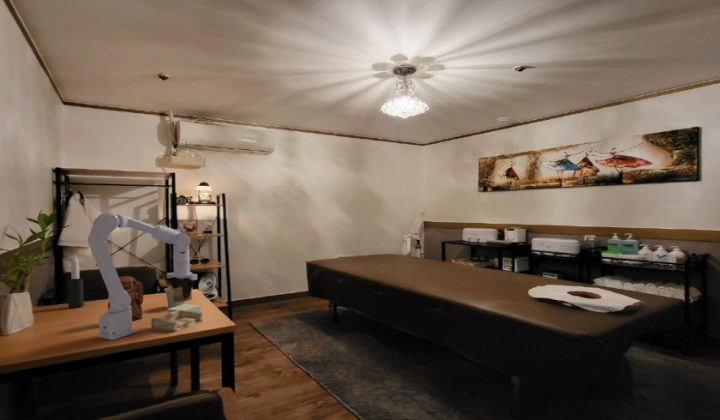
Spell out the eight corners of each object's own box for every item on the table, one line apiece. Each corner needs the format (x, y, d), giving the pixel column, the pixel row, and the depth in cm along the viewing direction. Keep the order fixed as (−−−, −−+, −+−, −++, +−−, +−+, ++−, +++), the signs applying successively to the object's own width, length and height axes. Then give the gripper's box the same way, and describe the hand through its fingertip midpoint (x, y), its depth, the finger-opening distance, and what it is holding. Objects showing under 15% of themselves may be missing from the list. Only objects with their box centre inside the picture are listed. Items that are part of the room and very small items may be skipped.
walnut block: (181, 302, 143) (180, 289, 143) (173, 301, 144) (173, 288, 144) (191, 299, 147) (191, 286, 147) (184, 298, 149) (184, 286, 149)
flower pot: (191, 304, 173) (191, 286, 173) (180, 309, 164) (179, 290, 164) (172, 304, 174) (172, 285, 174) (160, 309, 165) (159, 290, 165)
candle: (71, 306, 174) (69, 253, 173) (84, 305, 176) (82, 252, 176) (67, 309, 169) (66, 254, 169) (81, 307, 171) (80, 254, 171)
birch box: (174, 331, 134) (174, 322, 134) (151, 328, 139) (151, 319, 139) (202, 321, 146) (202, 312, 146) (180, 318, 151) (180, 309, 151)
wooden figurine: (112, 325, 143) (111, 279, 143) (107, 322, 147) (106, 277, 147) (145, 318, 152) (144, 274, 152) (139, 315, 156) (138, 273, 156)
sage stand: (183, 318, 151) (183, 310, 151) (167, 316, 155) (167, 309, 154) (200, 312, 159) (200, 305, 159) (185, 310, 163) (185, 303, 163)
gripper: (203, 262, 146) (204, 296, 147) (177, 260, 152) (178, 293, 152) (188, 264, 140) (189, 300, 140) (161, 263, 146) (162, 297, 146)
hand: (182, 297), depth 146 cm, fingers closed on walnut block, 4 cm apart
